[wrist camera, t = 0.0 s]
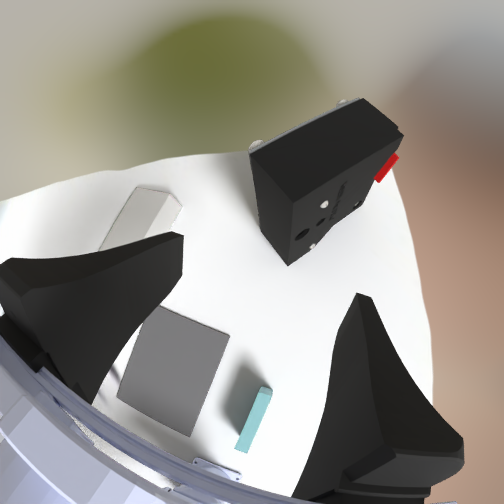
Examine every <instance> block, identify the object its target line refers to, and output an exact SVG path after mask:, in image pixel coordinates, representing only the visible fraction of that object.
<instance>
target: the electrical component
mask: <svg viewBox="0 0 504 504" xmlns="http://www.w3.org/2000/svg"><path fill="white" fill-rule="evenodd" d="M336 106H337V107H336V108H333V109H331V110H329V111H327V112H325V113H323V114H321V115H318V116H316V117H314V118H312V119H310V120H308V121H306V122H304V123H302V124H300V125H298V126H296V127H294V128H292V129H290V130H288V131H286V132H284V133H282V134H280V135H278V136H276V137H275V138H273V139H271V140H269V141H267V142H264V141H263V140H257V141H254V142H253V143H252V144H251V145H250V147H249V148H248V151H249V157H250V164H251V170H252V173H253V180H254V186H255V193H256V199H257V206H258V213H259V214H258V216H259V222H260V228H261V232H262V233H263V235H264V236H265V237H266V239H267V240H268V241H269V242H270V244H271V245H272V246H273V248H274V249H275V250H276V252H277V253H278V254H279V256H280V257H281V258H282V260H283V261H284V262H285V264H286V265H287V266H289V265H290V264H292V263H293V262H295V261H296V260H298V259H299V258H300V257H302V256H303V255H305V254H306V253H307V252H309V251H310V250H311V249H313V248H314V247H315V246H316V245H317V243H318V242H319V241H320V240H321V239H322V238H323V237H324V235H325V234H326V233H327V232H328V231H329V230H330V229H331V227H332V226H333V225H335V224H336V223H337V222H339V221H340V220H342V219H343V218H345V217H346V216H347V215H349V214H350V213H352V212H353V211H354V210H356V209H357V208H358V207H360V206H361V205H362V204H363V202H364V200H365V198H366V196H367V194H368V192H369V190H370V188H371V186H372V184H373V182H374V180H376V181H377V182H378V183H380V182H381V180H382V179H383V178H384V177H385V175H386V174H387V173H388V172H389V170H390V169H391V168H392V166H393V165H394V164H395V163H396V161H397V160H398V159H399V157H398V156H397V155H396V154H395V153H394V152H395V151H396V150H397V149H398V147H399V145H400V143H401V141H402V138H403V136H404V135H403V134H402V133H400V132H399V131H398V126H397V125H396V124H394V123H393V122H392V121H391V120H390V119H389V118H387V117H386V116H385V115H384V114H382V113H381V112H380V111H379V110H378V109H376V108H375V107H374V106H373V105H371V104H370V103H369V102H368V101H366V100H365V99H364V98H362V99H359V98H356V99H354V100H351V101H348V100H341V101H339V102H338V103H337V105H336Z"/></svg>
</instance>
